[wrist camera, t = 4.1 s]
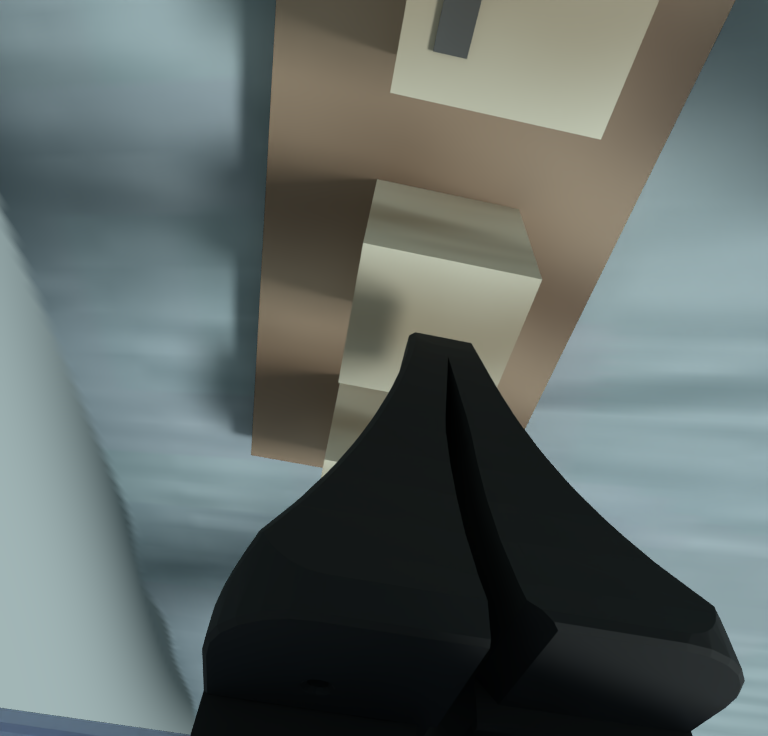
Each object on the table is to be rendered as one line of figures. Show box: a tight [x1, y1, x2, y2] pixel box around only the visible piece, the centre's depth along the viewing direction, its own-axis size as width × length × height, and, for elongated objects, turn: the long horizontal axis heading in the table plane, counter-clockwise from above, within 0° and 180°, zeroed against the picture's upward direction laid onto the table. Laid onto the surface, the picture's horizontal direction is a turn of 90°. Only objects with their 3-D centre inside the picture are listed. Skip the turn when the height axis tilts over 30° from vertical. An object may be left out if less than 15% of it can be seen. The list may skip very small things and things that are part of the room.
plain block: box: [338, 179, 542, 392], centre depth 15 cm, size 4×4×4 cm
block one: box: [321, 383, 389, 478], centre depth 19 cm, size 4×4×4 cm
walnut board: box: [251, 0, 735, 468], centre depth 17 cm, size 20×10×1 cm, turn 169°
